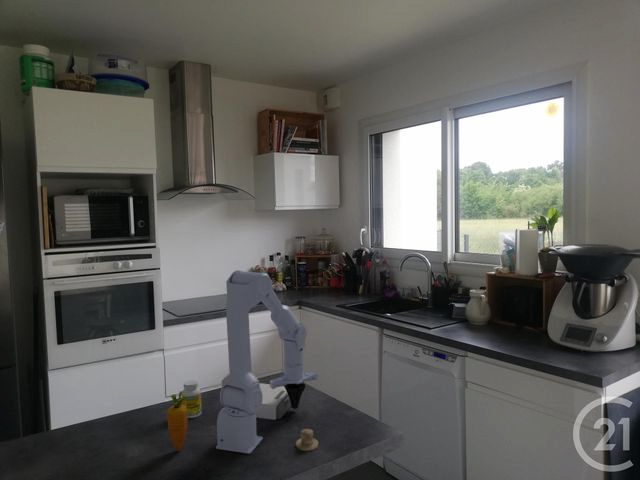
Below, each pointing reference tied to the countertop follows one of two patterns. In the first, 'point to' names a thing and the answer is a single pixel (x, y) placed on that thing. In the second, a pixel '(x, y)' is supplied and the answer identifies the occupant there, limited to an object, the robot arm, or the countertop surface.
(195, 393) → the supplement bottle
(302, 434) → the stand
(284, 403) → the tray
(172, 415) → the carrot
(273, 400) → the player
